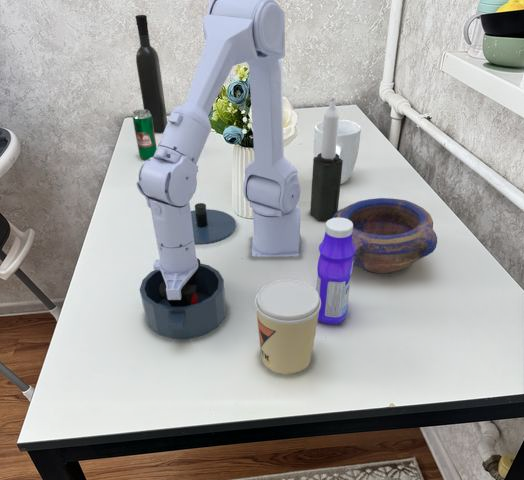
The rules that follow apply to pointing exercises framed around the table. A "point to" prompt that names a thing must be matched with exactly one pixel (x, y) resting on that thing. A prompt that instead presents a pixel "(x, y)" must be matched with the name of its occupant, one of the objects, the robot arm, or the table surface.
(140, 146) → the soda can
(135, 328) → the table surface
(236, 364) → the table surface
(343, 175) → the mug
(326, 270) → the bottle
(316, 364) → the table surface
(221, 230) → the lid
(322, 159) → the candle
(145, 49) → the wine bottle
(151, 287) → the pot
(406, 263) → the bowl
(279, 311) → the coffee cup
